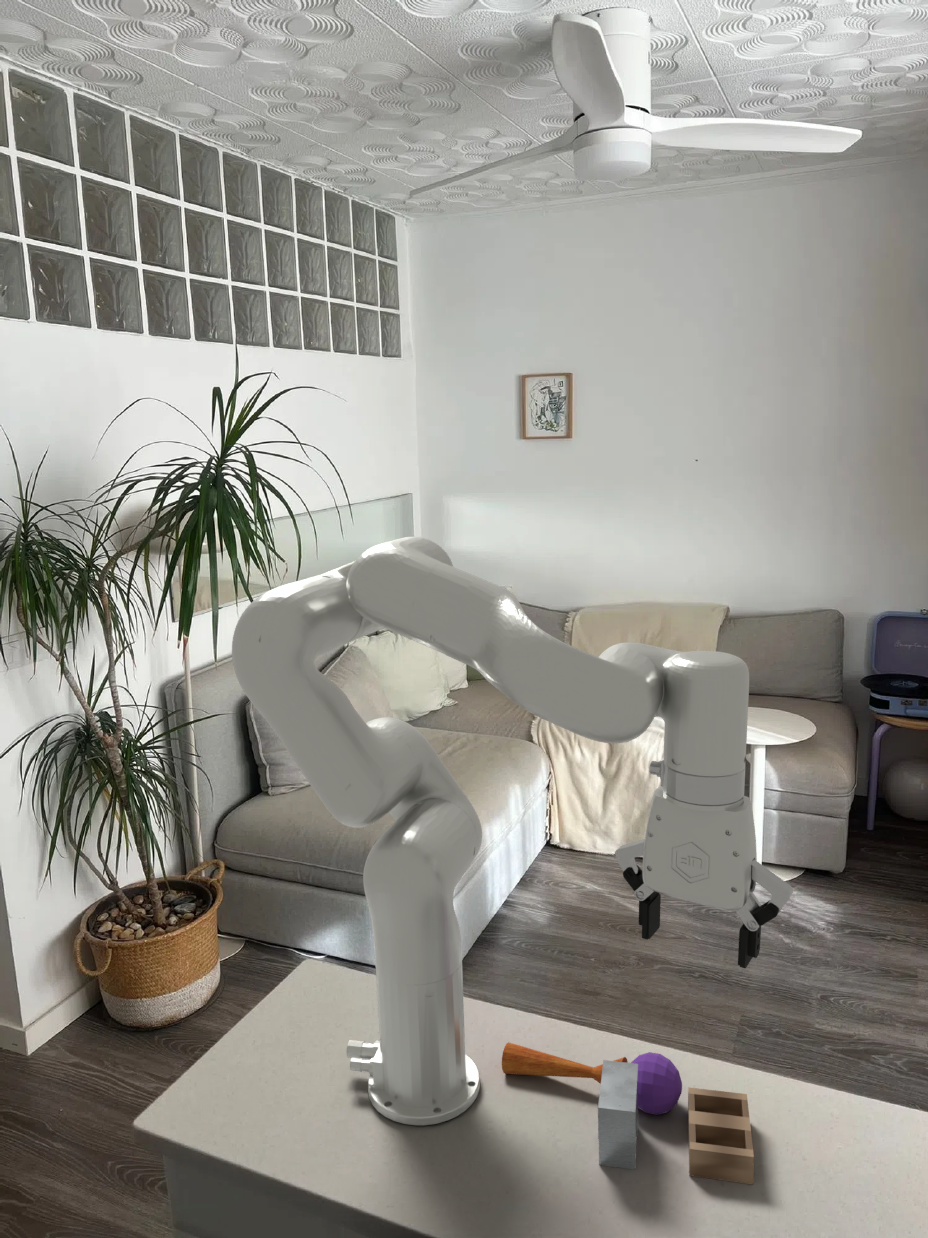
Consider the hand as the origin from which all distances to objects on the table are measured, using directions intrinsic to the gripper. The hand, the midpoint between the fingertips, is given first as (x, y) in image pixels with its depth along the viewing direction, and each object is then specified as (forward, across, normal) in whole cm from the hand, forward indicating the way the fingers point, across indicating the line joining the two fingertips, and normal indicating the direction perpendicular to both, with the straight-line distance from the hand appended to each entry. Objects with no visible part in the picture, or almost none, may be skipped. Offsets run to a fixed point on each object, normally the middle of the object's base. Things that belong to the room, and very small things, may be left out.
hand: (697, 947), depth 92 cm
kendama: (+23, -12, +2) cm, 26 cm away
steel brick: (+22, -6, -4) cm, 23 cm away
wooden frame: (+22, +3, +1) cm, 22 cm away
